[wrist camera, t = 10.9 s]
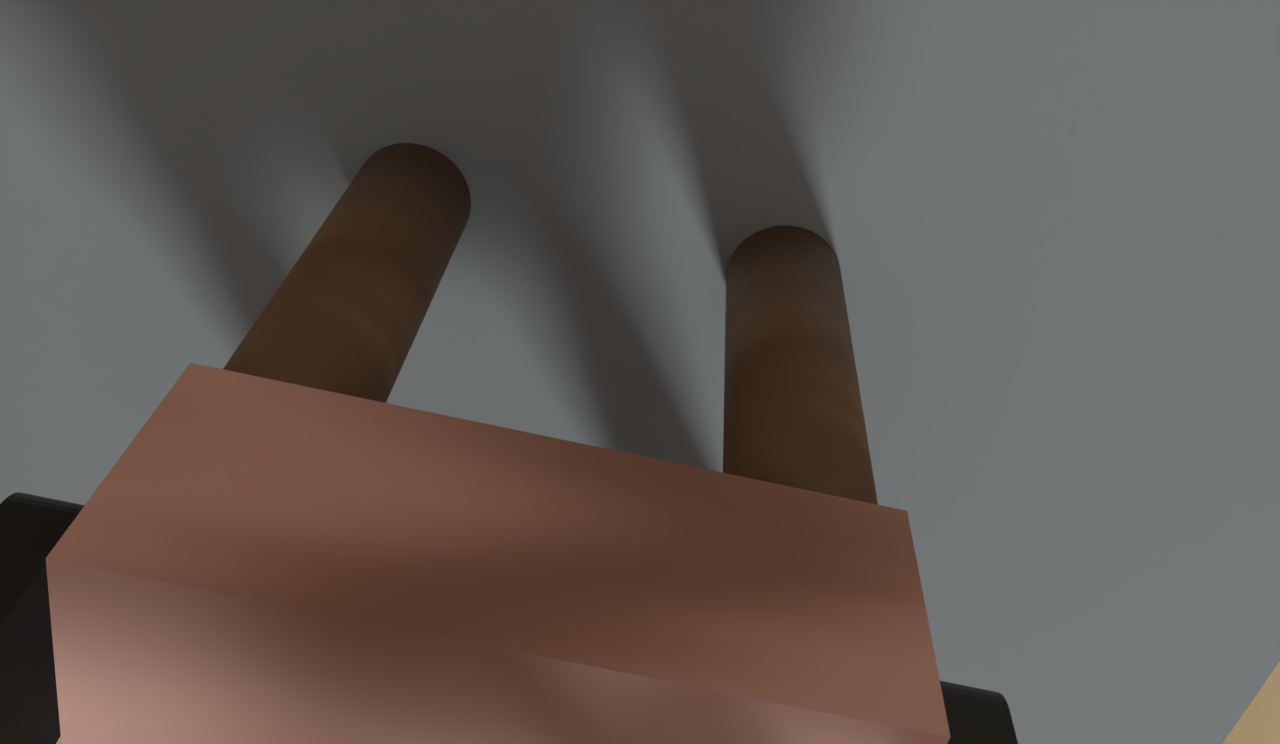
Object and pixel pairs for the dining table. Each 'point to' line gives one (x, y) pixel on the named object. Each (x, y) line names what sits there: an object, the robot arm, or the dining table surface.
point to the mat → (697, 263)
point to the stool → (490, 535)
